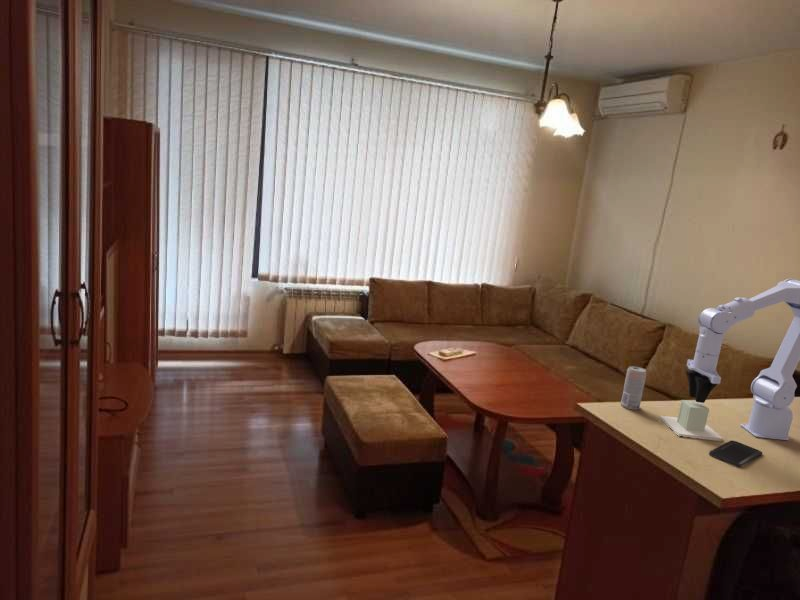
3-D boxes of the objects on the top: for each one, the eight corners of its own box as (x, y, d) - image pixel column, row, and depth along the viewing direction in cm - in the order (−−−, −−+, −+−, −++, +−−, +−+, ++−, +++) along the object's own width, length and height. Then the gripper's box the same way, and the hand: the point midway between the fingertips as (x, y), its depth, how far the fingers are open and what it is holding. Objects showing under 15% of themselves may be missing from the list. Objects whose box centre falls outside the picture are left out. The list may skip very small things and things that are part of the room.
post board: (700, 422, 167) (704, 405, 166) (722, 441, 156) (726, 422, 155) (659, 418, 167) (663, 401, 166) (678, 436, 156) (682, 418, 154)
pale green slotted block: (694, 423, 164) (699, 401, 162) (704, 431, 159) (709, 409, 157) (676, 421, 164) (681, 399, 162) (685, 429, 159) (690, 407, 157)
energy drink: (636, 404, 176) (643, 367, 174) (641, 411, 171) (649, 373, 169) (618, 402, 177) (625, 364, 174) (623, 408, 172) (630, 370, 169)
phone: (763, 452, 150) (740, 465, 140) (762, 456, 150) (739, 469, 140) (731, 439, 156) (707, 451, 146) (730, 443, 156) (706, 455, 146)
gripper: (680, 343, 164) (670, 388, 167) (706, 359, 150) (694, 408, 152) (705, 346, 164) (694, 390, 167) (733, 362, 150) (721, 411, 153)
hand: (696, 399), depth 160 cm, fingers open, 3 cm apart
